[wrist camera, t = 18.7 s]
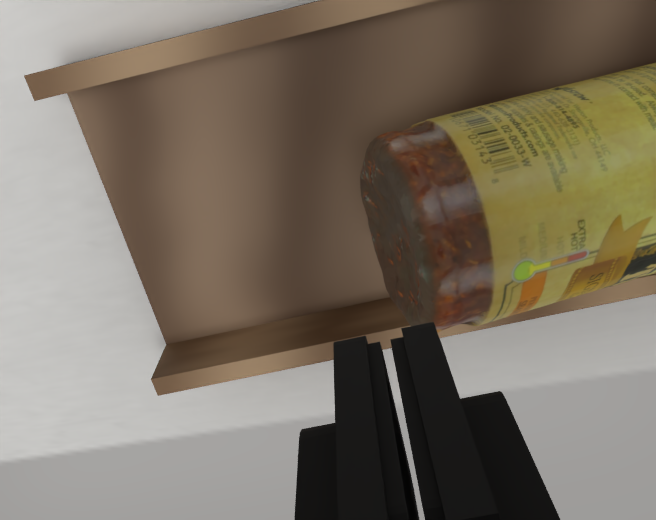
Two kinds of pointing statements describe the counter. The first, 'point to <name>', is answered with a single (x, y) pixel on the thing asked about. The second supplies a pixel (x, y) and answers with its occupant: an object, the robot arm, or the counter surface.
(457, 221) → the sauce bottle
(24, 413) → the counter surface
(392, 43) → the tray
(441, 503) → the robot arm
